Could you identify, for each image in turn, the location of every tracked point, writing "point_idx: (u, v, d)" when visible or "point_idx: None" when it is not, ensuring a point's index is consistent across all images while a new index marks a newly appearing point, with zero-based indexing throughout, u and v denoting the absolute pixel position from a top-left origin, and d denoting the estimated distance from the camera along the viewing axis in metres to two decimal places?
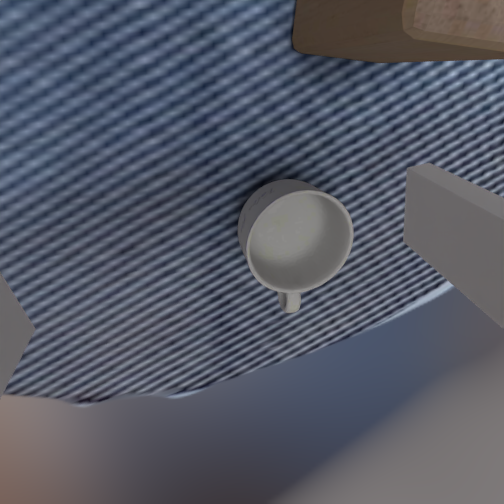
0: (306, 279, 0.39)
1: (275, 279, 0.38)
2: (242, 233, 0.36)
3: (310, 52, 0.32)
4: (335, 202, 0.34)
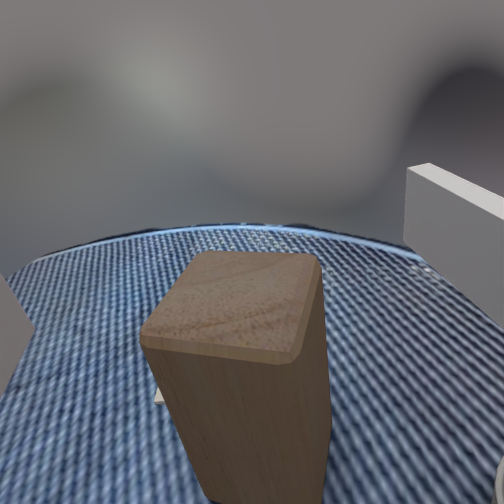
0: None
1: None
2: None
3: (318, 499, 0.28)
4: None
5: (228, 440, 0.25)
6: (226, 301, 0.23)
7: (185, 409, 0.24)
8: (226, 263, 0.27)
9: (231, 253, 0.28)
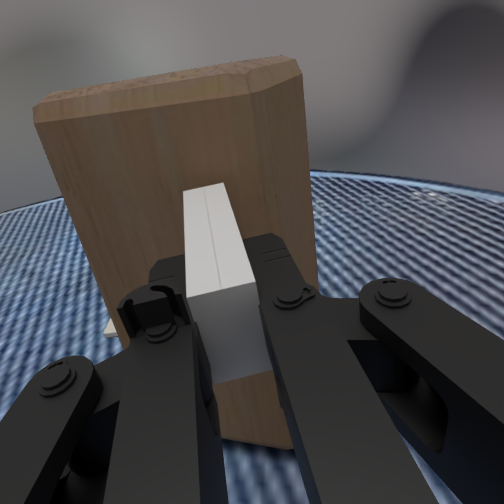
0: None
1: None
2: None
3: None
4: None
5: None
6: None
7: (107, 246, 0.17)
8: None
9: None
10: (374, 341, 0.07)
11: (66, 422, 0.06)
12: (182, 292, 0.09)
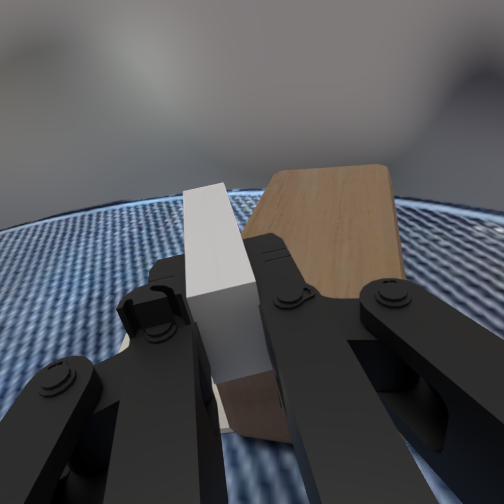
0: None
1: None
2: None
3: None
4: None
5: (311, 210, 0.25)
6: None
7: (281, 196, 0.28)
8: None
9: None
10: (375, 341, 0.07)
11: (66, 422, 0.06)
12: (182, 292, 0.09)
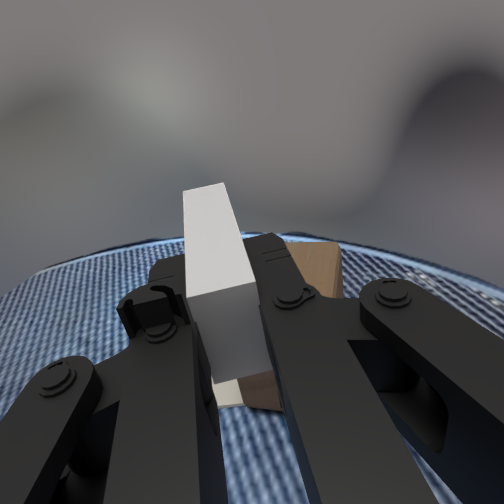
0: None
1: None
2: None
3: None
4: None
5: None
6: None
7: None
8: None
9: None
10: (374, 341, 0.07)
11: (66, 422, 0.06)
12: (182, 292, 0.09)
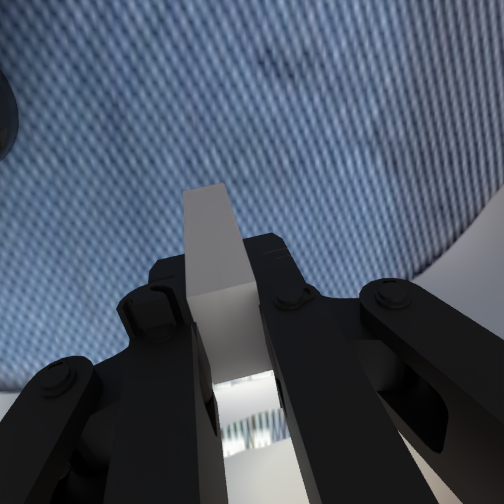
0: None
1: None
2: None
3: None
4: None
5: None
6: None
7: None
8: None
9: None
10: (375, 341, 0.07)
11: (66, 422, 0.06)
12: (182, 292, 0.09)
